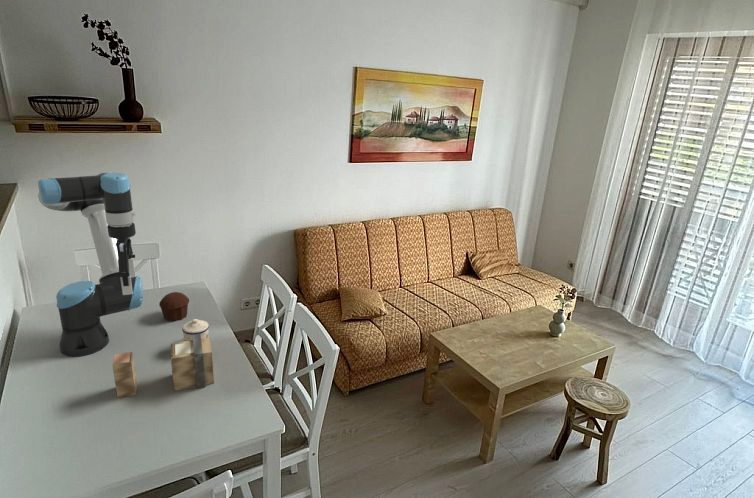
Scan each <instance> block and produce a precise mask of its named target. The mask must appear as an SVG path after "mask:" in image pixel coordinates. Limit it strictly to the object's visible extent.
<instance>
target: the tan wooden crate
mask: <svg viewBox="0 0 754 498" xmlns="http://www.w3.org/2000/svg"><path fill="white" fill-rule="evenodd" d="M212 350H213V349H212V344H211V338H210V337H209V338H205V339H201V336H200V334H198V335H193V340H191V341H184V340H183V341H178V342H172V343H170V362H171V369H172V370H171V372H172V380H173V391H180V390H184V389H190V388H197V389H203V388H206V385H212V384H215V380H214V379H215V378H214V366H213V365H214V364H213V363H214V362H213V351H212Z"/></svg>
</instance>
